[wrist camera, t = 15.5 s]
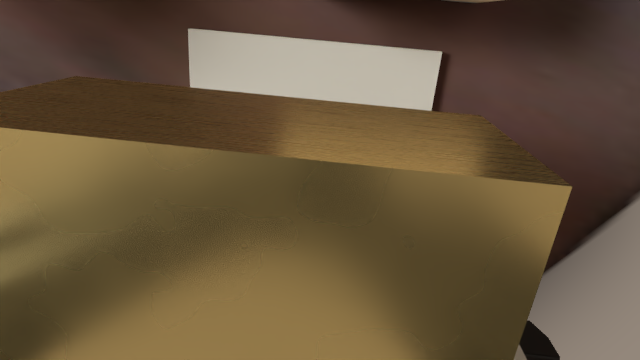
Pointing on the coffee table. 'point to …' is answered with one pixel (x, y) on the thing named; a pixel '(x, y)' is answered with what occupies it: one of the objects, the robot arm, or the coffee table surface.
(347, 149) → the yellow block with knob
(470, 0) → the body
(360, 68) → the felt pad
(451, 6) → the coffee table surface
